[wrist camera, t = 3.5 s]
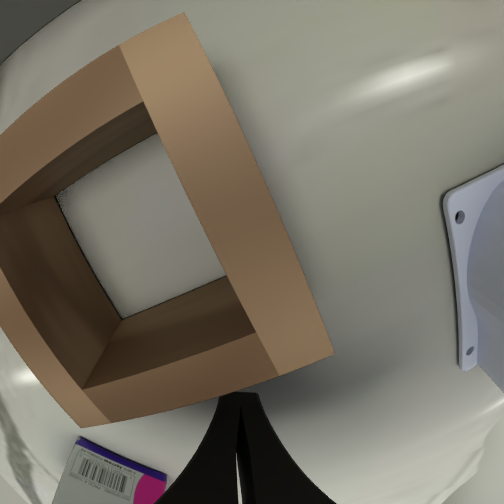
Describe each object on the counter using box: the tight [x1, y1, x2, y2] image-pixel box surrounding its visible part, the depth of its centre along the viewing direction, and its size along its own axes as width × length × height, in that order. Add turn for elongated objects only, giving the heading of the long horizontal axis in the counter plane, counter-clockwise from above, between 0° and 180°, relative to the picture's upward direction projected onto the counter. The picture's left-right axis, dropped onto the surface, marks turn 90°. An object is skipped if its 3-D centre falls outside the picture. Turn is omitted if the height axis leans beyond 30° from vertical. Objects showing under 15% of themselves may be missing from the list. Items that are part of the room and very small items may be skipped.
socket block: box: [0, 13, 335, 428], centre depth 8 cm, size 8×8×4 cm
